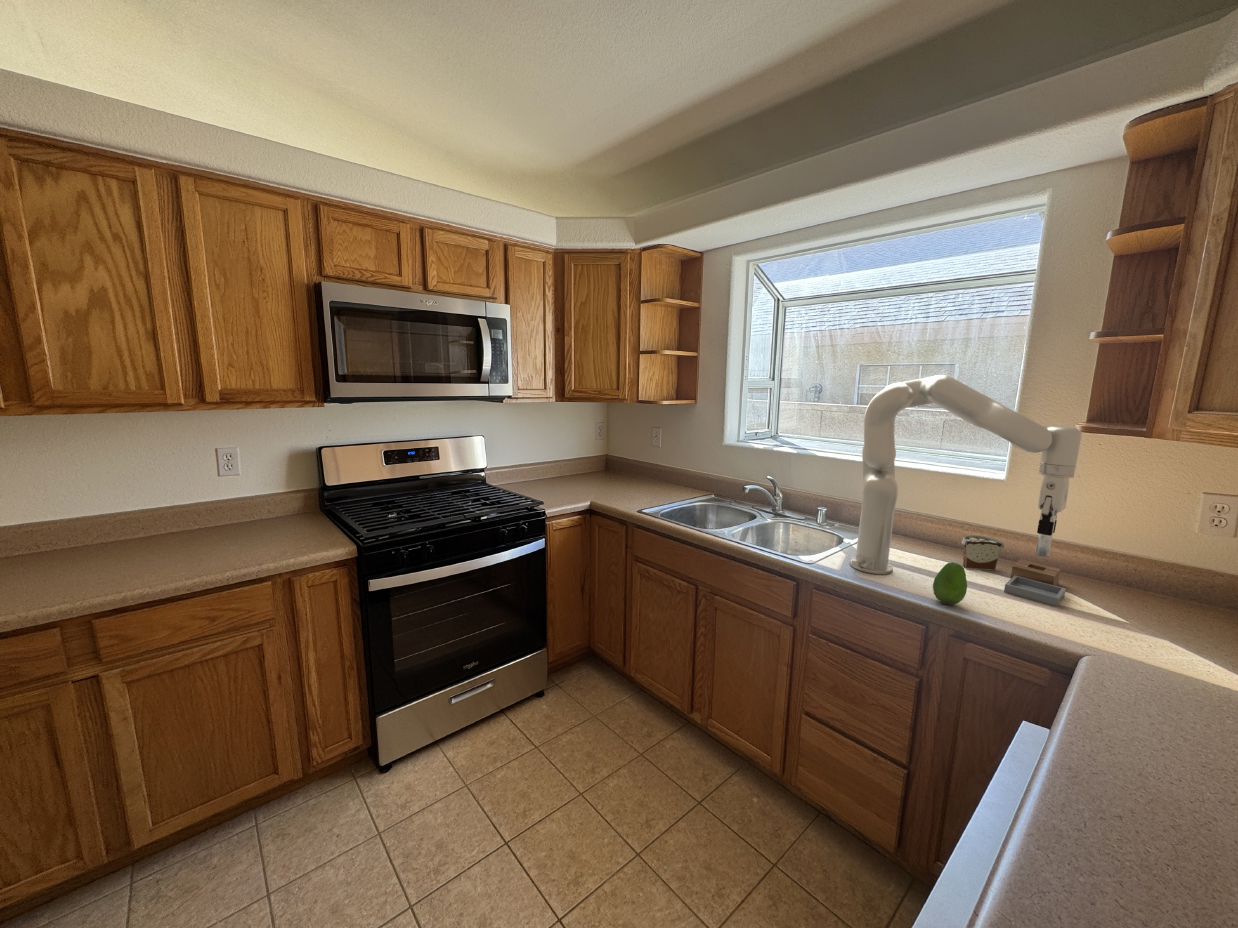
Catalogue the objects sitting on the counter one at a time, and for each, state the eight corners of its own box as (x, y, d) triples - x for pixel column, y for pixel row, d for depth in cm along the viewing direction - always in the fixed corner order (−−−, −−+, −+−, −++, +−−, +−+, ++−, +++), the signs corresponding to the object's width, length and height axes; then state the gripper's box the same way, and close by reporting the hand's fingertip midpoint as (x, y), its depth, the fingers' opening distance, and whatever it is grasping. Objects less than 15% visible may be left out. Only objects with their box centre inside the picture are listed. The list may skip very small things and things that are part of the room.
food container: (988, 563, 169) (992, 535, 168) (1000, 570, 163) (1005, 541, 162) (950, 561, 171) (954, 533, 169) (960, 568, 165) (965, 539, 163)
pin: (1047, 557, 141) (1054, 516, 139) (1034, 554, 143) (1041, 514, 141) (1049, 555, 143) (1057, 515, 141) (1036, 552, 145) (1043, 512, 143)
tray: (1056, 606, 137) (1058, 598, 137) (1003, 592, 146) (1005, 584, 146) (1064, 596, 144) (1065, 588, 144) (1013, 582, 153) (1014, 575, 153)
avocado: (968, 611, 133) (974, 569, 131) (934, 606, 135) (940, 564, 133) (959, 599, 140) (965, 559, 138) (927, 594, 143) (933, 555, 141)
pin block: (1051, 592, 147) (1054, 576, 146) (1010, 581, 155) (1012, 565, 154) (1058, 583, 153) (1061, 568, 153) (1017, 573, 161) (1020, 559, 160)
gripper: (1069, 475, 131) (1057, 542, 134) (1079, 469, 141) (1068, 531, 144) (1033, 471, 136) (1022, 535, 139) (1045, 465, 147) (1035, 525, 150)
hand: (1045, 532), depth 142 cm, fingers closed on pin, 3 cm apart
